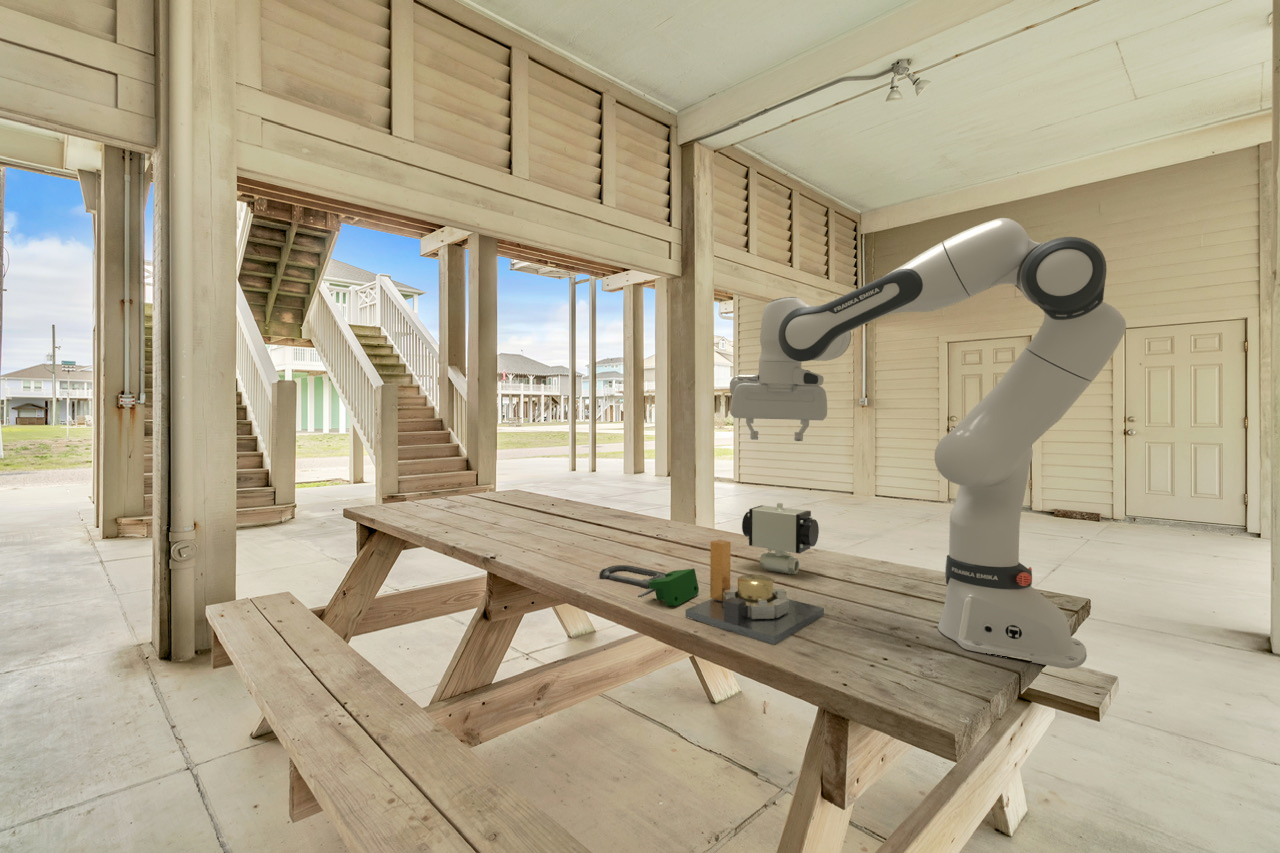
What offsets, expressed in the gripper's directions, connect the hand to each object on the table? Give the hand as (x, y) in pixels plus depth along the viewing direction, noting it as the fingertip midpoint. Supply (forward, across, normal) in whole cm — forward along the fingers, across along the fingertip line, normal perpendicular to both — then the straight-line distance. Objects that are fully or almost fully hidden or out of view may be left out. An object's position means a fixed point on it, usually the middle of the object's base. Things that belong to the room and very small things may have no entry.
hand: (776, 440), depth 124 cm
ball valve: (+37, +6, +21) cm, 43 cm away
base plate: (+35, -4, -12) cm, 37 cm away
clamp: (+36, -21, -2) cm, 42 cm away
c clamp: (+38, -31, +11) cm, 50 cm away
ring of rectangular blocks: (+33, -6, -10) cm, 35 cm away
